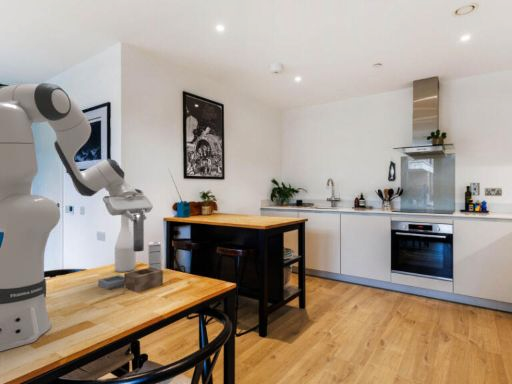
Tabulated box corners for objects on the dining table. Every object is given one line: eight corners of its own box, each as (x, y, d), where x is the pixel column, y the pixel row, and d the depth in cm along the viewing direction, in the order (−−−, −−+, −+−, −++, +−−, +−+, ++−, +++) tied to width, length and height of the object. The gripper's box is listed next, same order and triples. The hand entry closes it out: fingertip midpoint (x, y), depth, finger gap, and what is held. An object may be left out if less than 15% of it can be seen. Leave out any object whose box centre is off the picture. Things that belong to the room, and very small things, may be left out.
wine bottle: (134, 271, 146) (134, 210, 146) (113, 273, 144) (112, 210, 143) (136, 266, 155) (136, 209, 155) (116, 268, 153) (116, 209, 152)
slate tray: (109, 290, 120) (109, 283, 120) (98, 285, 125) (98, 279, 125) (130, 284, 127) (130, 278, 127) (118, 280, 132) (118, 274, 132)
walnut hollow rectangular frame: (136, 292, 117) (136, 277, 117) (124, 288, 122) (124, 273, 122) (162, 284, 127) (162, 270, 127) (150, 280, 132) (150, 267, 132)
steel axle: (136, 252, 122) (136, 215, 121) (131, 250, 124) (131, 214, 124) (145, 250, 125) (145, 214, 125) (140, 249, 127) (140, 214, 127)
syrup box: (161, 273, 143) (161, 243, 143) (148, 274, 141) (148, 244, 141) (160, 270, 149) (160, 241, 148) (148, 271, 146) (148, 242, 146)
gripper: (104, 190, 118) (121, 216, 114) (145, 190, 136) (161, 212, 132) (97, 201, 120) (113, 227, 116) (138, 200, 138) (154, 222, 134)
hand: (139, 219), depth 124 cm, fingers closed on steel axle, 4 cm apart
